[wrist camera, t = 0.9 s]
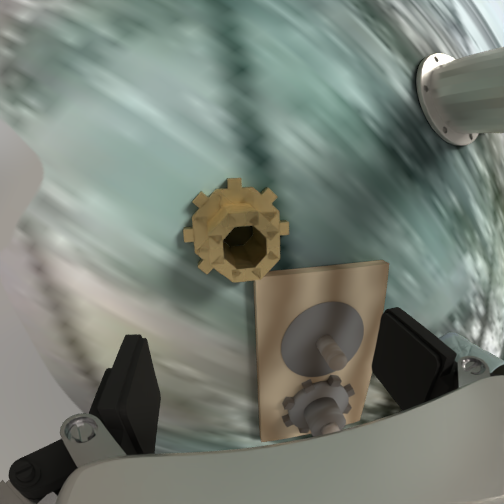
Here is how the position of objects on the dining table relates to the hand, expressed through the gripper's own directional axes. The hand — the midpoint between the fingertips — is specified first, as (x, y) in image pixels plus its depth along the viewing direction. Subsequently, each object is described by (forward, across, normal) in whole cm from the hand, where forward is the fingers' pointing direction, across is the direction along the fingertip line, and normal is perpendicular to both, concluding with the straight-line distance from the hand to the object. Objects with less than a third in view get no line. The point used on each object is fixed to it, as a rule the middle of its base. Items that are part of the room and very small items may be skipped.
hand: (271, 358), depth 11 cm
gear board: (+19, -10, +16) cm, 27 cm away
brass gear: (+19, 0, -1) cm, 19 cm away
